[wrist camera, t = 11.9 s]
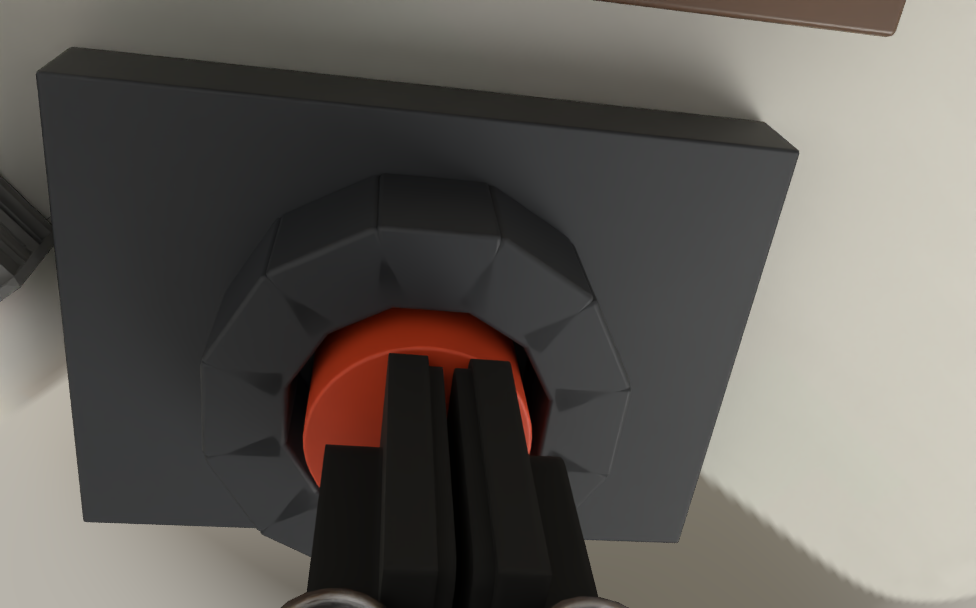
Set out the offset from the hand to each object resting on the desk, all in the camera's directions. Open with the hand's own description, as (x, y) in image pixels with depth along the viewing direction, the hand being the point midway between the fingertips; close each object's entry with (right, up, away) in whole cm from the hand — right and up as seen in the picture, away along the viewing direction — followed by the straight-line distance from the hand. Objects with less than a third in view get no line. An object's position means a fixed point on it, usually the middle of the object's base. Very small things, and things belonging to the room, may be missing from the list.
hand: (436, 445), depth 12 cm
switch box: (-1, +2, +3) cm, 4 cm away
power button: (0, +1, +2) cm, 2 cm away
